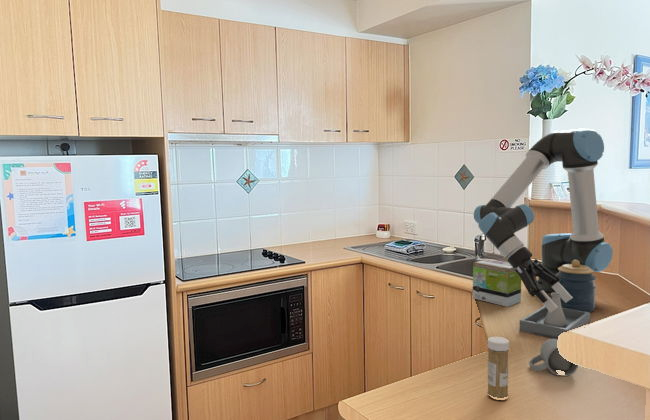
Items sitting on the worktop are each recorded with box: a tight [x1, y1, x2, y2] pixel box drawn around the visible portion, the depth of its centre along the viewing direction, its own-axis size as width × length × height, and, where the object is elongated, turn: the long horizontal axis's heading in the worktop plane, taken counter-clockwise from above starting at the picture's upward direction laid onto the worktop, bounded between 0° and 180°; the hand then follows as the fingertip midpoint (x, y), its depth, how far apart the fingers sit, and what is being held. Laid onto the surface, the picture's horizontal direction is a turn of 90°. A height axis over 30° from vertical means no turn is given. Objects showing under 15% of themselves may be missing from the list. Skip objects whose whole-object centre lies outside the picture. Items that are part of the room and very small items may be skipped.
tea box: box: [472, 258, 522, 308], centre depth 187 cm, size 15×10×15 cm, turn 40°
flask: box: [544, 292, 567, 328], centre depth 156 cm, size 7×7×10 cm
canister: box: [555, 260, 597, 314], centre depth 175 cm, size 13×13×18 cm
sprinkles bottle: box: [487, 336, 510, 398], centre depth 110 cm, size 5×5×14 cm
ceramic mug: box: [528, 338, 579, 376], centre depth 125 cm, size 11×8×8 cm
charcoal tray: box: [519, 305, 591, 339], centre depth 157 cm, size 22×14×4 cm, turn 136°
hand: (562, 305), depth 155 cm, fingers open, 13 cm apart
